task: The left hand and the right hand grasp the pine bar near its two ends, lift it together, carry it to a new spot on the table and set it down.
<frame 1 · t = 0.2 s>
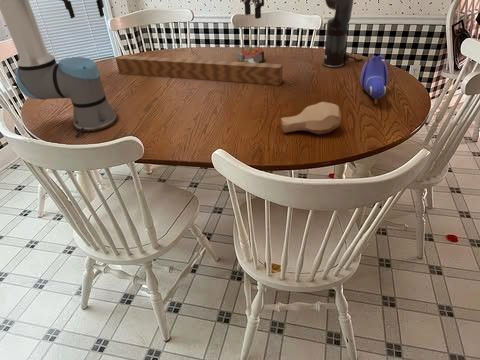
left hand: (87, 16, 158), 27 cm above the table, tool pointing down, fingers open, 13 cm apart
right hand: (252, 16, 138), 28 cm above the table, tool pointing down, fingers open, 8 cm apart
squash: (310, 130, 120), on the table
toy: (372, 97, 139), on the table
tape dispenser: (251, 65, 177), on the table
bar: (196, 77, 167), on the table
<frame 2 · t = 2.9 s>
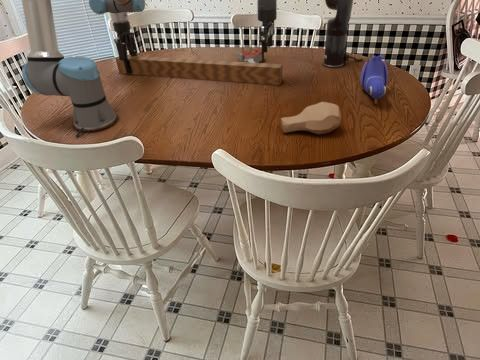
left hand: (132, 71, 177), 1 cm above the table, tool pointing down, fingers closed on bar, 5 cm apart
right hand: (267, 49, 149), 14 cm above the table, tool pointing down, fingers open, 8 cm apart
bar: (196, 77, 167), on the table, touching left hand
everything else where it was.
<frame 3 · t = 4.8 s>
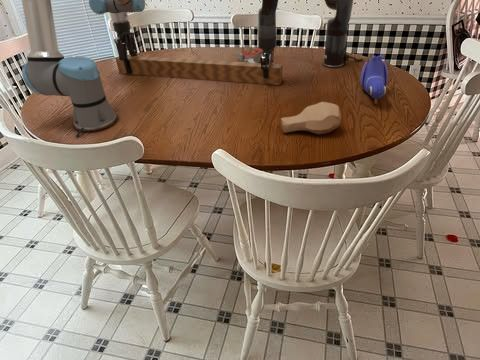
left hand: (132, 71, 177), 1 cm above the table, tool pointing down, fingers closed on bar, 5 cm apart
right hand: (267, 75, 156), 3 cm above the table, tool pointing down, fingers closed on bar, 4 cm apart
bar: (196, 77, 167), on the table, touching left hand, right hand
everything else where it was.
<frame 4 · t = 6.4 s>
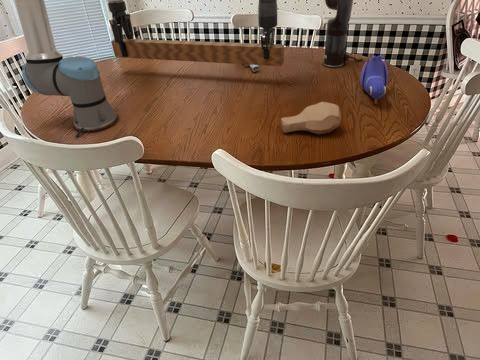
left hand: (128, 54, 171), 9 cm above the table, tool pointing down, fingers closed on bar, 5 cm apart
right hand: (268, 56, 150), 11 cm above the table, tool pointing down, fingers closed on bar, 4 cm apart
bar: (194, 59, 162), point 8 cm above the table, touching left hand, right hand
everything else where it was.
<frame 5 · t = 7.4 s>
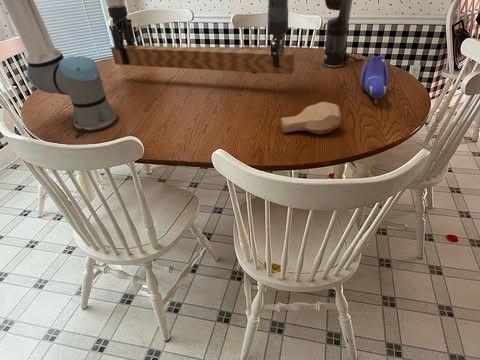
left hand: (129, 61, 162), 9 cm above the table, tool pointing down, fingers closed on bar, 5 cm apart
right hand: (277, 64, 141), 11 cm above the table, tool pointing down, fingers closed on bar, 4 cm apart
bar: (198, 67, 153), point 8 cm above the table, touching left hand, right hand
everything else where it was.
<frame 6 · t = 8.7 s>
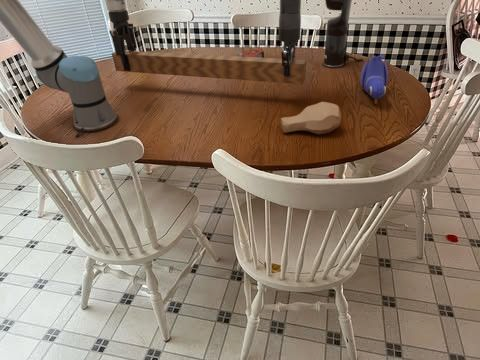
left hand: (130, 68, 155), 9 cm above the table, tool pointing down, fingers closed on bar, 5 cm apart
right hand: (288, 73, 134), 11 cm above the table, tool pointing down, fingers closed on bar, 4 cm apart
bar: (204, 75, 145), point 8 cm above the table, touching left hand, right hand
everything else where it was.
when the left hand's fingers open (2 cm above the table, at t = 9.9 s): bar drops 1 cm, on the table.
when the right hand's fingers open (4 cm above the table, at t = 10.1 s): bar stays where it is, on the table.
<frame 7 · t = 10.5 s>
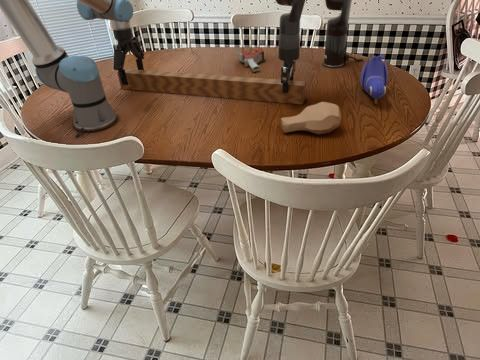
left hand: (133, 79, 157), 4 cm above the table, tool pointing down, fingers open, 13 cm apart
right hand: (287, 88, 137), 5 cm above the table, tool pointing down, fingers open, 8 cm apart
bar: (207, 93, 150), on the table
everything else where it was.
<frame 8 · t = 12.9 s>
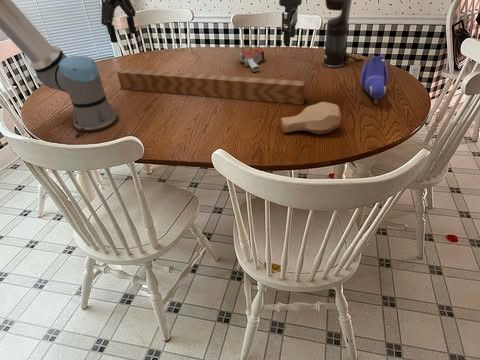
left hand: (124, 37, 147), 22 cm above the table, tool pointing down, fingers open, 13 cm apart
right hand: (289, 40, 126), 23 cm above the table, tool pointing down, fingers open, 8 cm apart
nothing on the table moved.
at the end: bar inside the target area (0.1 cm from its centre), on the table; bar tilted 0°; bar never tilted more than 1° during the clip; both hands held the bar at the same time; the left hand is holding nothing; the right hand is holding nothing; bar at rest at the end (0.0 cm/s) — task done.
